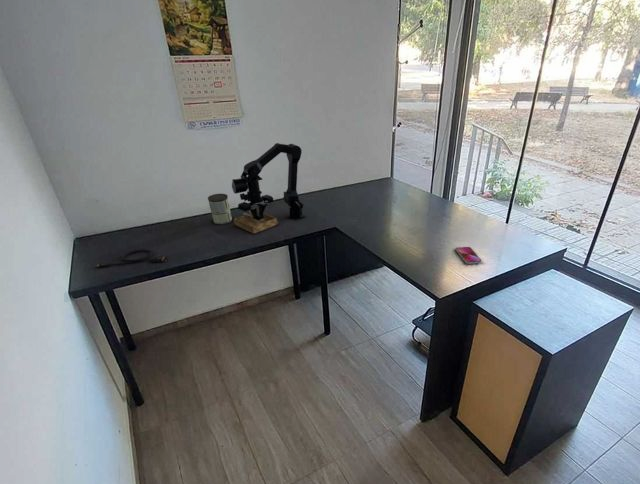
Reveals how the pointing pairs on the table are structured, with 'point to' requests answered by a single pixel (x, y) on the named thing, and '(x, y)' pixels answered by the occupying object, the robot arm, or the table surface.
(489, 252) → the table surface
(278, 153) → the robot arm
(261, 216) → the tongs
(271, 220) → the brown wooden tray
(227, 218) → the coffee can
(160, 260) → the cable
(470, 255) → the smartphone
